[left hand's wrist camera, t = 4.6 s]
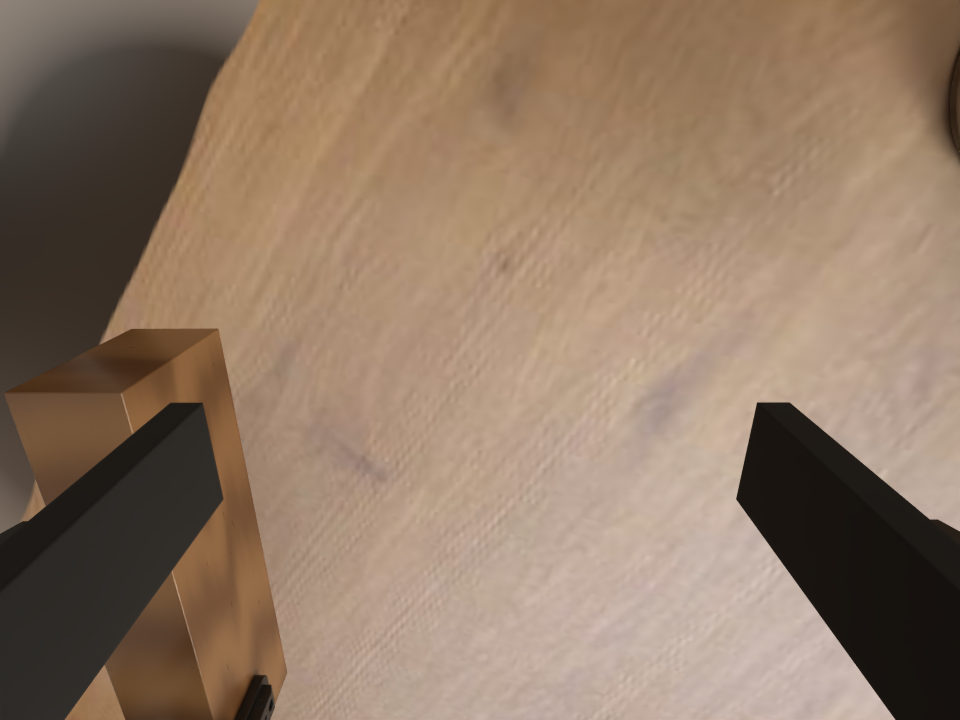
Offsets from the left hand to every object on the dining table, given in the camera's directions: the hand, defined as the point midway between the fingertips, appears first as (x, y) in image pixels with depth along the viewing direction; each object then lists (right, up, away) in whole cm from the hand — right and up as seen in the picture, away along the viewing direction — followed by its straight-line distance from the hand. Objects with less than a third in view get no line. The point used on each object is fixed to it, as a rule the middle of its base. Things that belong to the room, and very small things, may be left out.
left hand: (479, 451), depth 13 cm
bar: (-17, -8, +22) cm, 29 cm away
